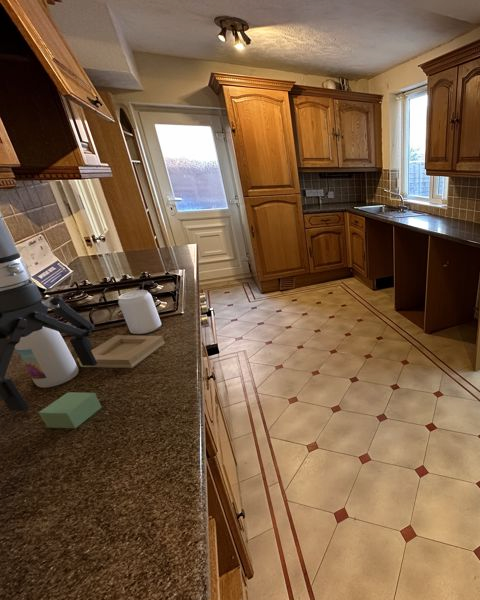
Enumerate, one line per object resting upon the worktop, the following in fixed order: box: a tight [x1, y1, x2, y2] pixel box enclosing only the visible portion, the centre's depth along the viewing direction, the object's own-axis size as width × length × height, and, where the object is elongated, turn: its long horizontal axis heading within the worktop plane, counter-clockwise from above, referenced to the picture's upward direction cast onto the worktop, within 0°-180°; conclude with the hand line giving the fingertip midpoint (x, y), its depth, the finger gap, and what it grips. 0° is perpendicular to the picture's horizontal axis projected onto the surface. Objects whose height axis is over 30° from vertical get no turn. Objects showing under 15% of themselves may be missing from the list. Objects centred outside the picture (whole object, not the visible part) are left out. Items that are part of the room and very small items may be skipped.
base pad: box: [76, 334, 166, 369], centre depth 88 cm, size 14×12×2 cm
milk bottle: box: [14, 326, 80, 389], centre depth 75 cm, size 8×8×20 cm
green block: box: [38, 391, 102, 429], centre depth 67 cm, size 6×6×4 cm
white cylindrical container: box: [117, 289, 162, 335], centre depth 99 cm, size 8×8×12 cm
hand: (58, 385), depth 64 cm, fingers open, 13 cm apart
